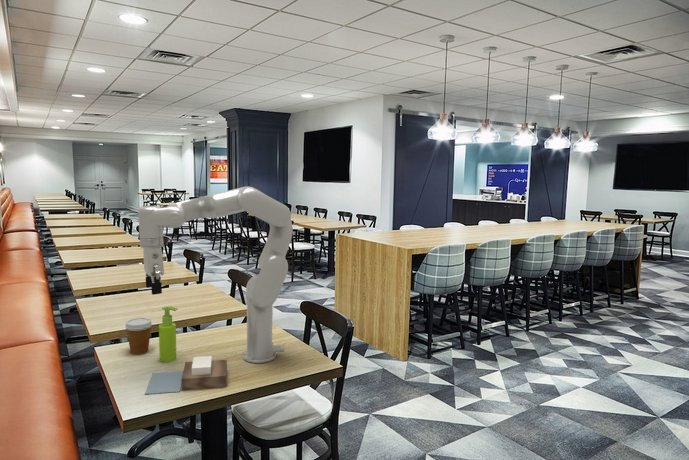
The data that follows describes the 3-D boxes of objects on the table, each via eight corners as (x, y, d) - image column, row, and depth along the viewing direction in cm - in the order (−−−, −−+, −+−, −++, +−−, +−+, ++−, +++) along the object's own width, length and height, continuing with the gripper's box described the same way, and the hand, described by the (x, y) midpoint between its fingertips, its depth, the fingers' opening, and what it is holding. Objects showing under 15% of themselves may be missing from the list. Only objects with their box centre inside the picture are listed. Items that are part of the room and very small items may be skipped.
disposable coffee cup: (148, 356, 178) (147, 325, 177) (122, 356, 178) (120, 325, 176) (156, 346, 188) (155, 317, 186) (131, 346, 187) (130, 317, 185)
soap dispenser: (173, 363, 173) (172, 310, 170) (156, 361, 175) (155, 308, 172) (182, 356, 179) (181, 305, 176) (165, 354, 180) (164, 304, 177)
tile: (211, 362, 165) (211, 356, 165) (210, 374, 157) (210, 367, 156) (193, 363, 164) (193, 357, 164) (191, 375, 155) (191, 368, 155)
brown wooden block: (226, 370, 169) (226, 359, 168) (226, 387, 156) (226, 375, 156) (185, 372, 166) (185, 362, 165) (181, 390, 153) (181, 378, 153)
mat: (184, 371, 167) (184, 370, 167) (179, 392, 152) (179, 391, 152) (152, 373, 164) (152, 373, 164) (144, 394, 150) (144, 393, 150)
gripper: (168, 245, 157) (170, 295, 160) (157, 237, 172) (159, 283, 174) (144, 247, 153) (147, 298, 156) (135, 239, 168) (137, 286, 170)
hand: (153, 290), depth 165 cm, fingers open, 9 cm apart
